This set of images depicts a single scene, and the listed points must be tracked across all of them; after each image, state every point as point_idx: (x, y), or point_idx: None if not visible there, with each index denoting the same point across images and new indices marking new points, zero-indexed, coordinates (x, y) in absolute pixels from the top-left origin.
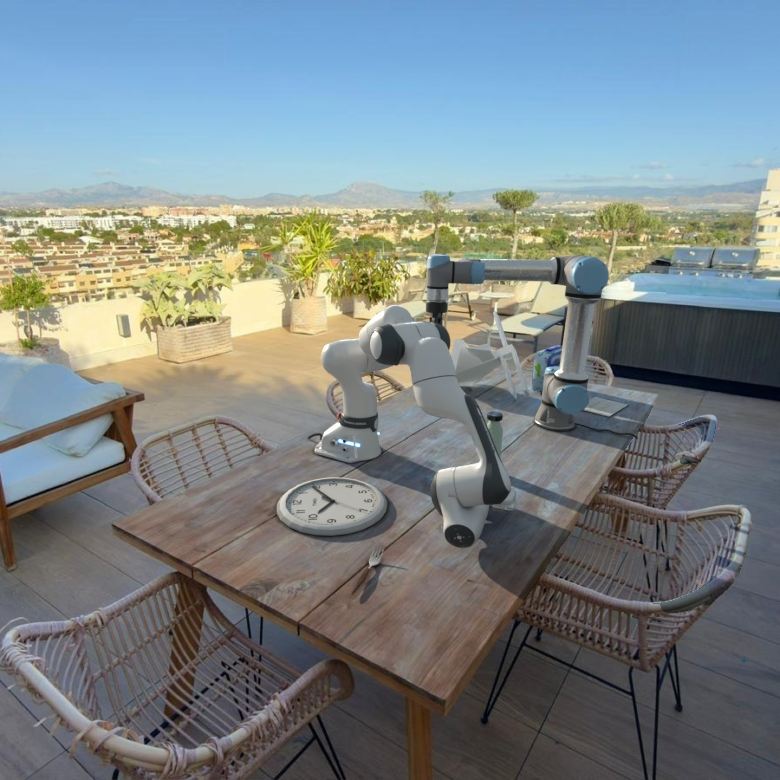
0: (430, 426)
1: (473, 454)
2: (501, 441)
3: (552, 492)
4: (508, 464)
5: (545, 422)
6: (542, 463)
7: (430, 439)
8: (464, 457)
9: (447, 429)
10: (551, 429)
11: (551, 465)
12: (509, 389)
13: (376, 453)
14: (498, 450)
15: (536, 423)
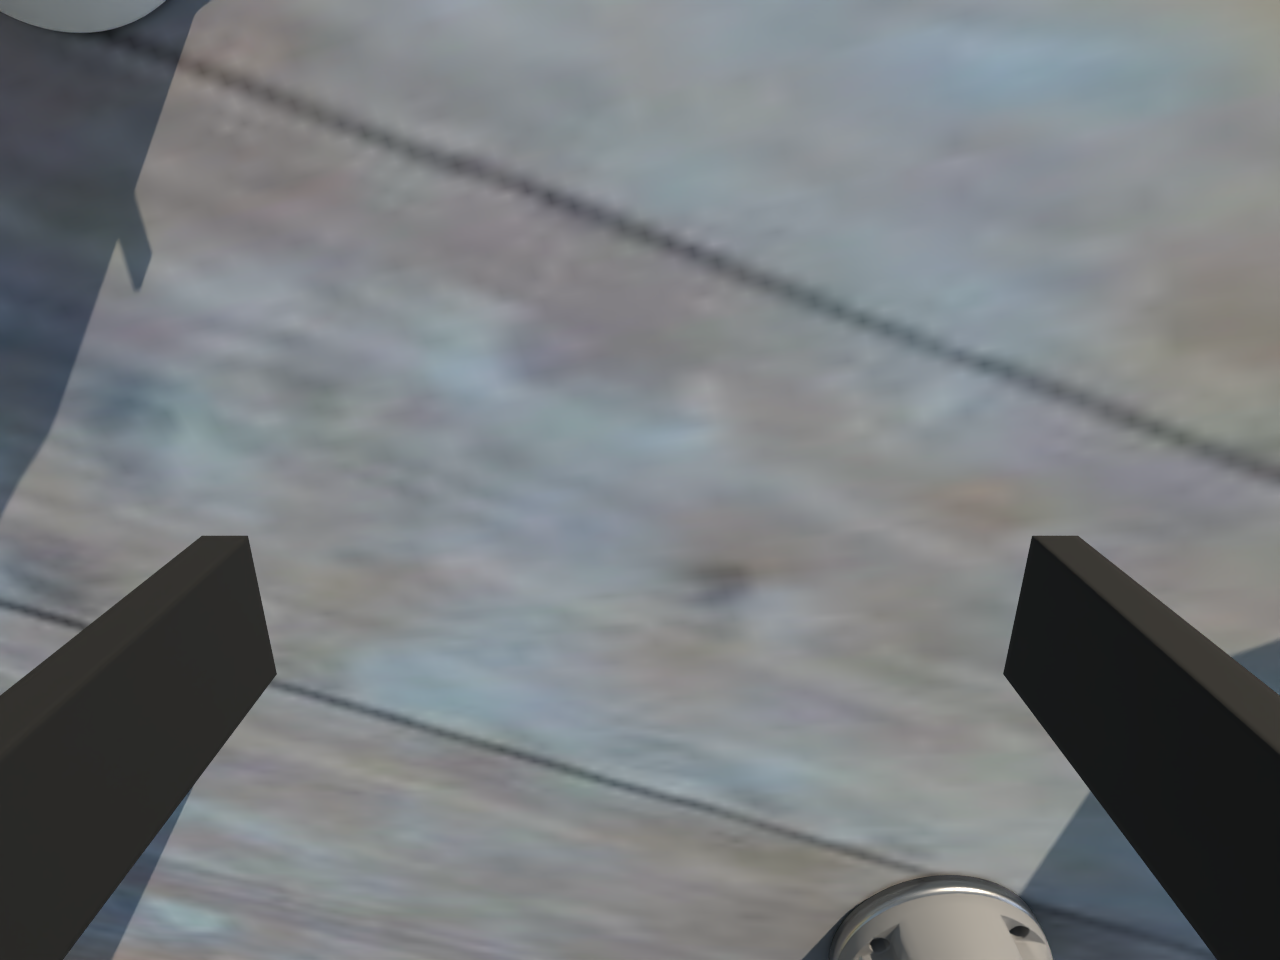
0: (747, 301)
1: (369, 615)
2: None
3: (127, 914)
4: (319, 771)
5: (862, 946)
6: (397, 891)
7: (499, 344)
8: (306, 575)
9: (717, 429)
10: (833, 941)
11: (391, 920)
12: None
13: (1, 7)
14: None
15: (905, 888)
